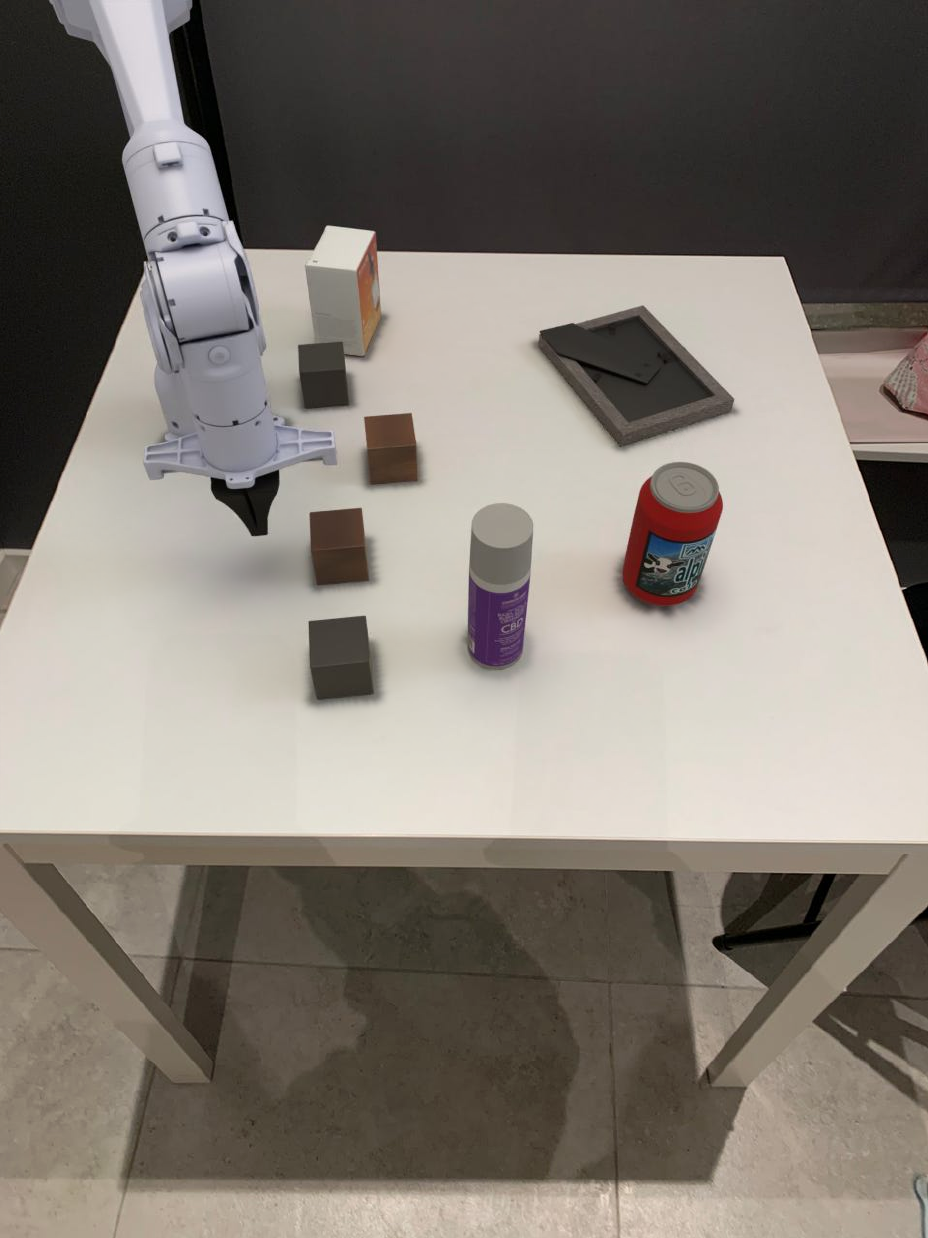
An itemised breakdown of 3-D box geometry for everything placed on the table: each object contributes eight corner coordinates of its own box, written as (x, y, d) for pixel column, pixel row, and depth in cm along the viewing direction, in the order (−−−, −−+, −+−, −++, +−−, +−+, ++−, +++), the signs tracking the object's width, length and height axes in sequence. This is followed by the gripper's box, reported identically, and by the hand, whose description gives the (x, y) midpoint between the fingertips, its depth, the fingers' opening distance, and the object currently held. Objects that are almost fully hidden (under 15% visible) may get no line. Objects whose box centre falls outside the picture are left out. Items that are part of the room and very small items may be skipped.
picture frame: (538, 345, 104) (620, 446, 94) (539, 330, 102) (623, 431, 92) (640, 316, 107) (731, 411, 97) (643, 301, 105) (735, 395, 96)
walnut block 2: (370, 484, 90) (367, 448, 86) (367, 452, 93) (363, 416, 89) (417, 480, 90) (416, 444, 87) (413, 448, 93) (411, 412, 90)
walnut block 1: (317, 585, 82) (310, 550, 79) (315, 546, 85) (309, 511, 82) (369, 580, 83) (365, 546, 79) (365, 542, 86) (361, 507, 82)
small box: (364, 358, 102) (356, 271, 94) (315, 351, 103) (303, 264, 94) (382, 315, 107) (377, 229, 98) (335, 309, 107) (326, 223, 99)
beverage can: (648, 622, 80) (674, 527, 71) (605, 569, 84) (625, 471, 74) (712, 594, 82) (746, 498, 73) (667, 543, 86) (694, 445, 76)
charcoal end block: (304, 408, 97) (299, 372, 93) (303, 380, 100) (298, 344, 96) (349, 405, 97) (345, 368, 94) (346, 377, 100) (342, 340, 96)
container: (504, 679, 77) (514, 559, 65) (456, 654, 78) (457, 532, 66) (532, 640, 79) (547, 517, 67) (485, 616, 80) (491, 492, 68)
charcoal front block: (316, 700, 75) (309, 667, 71) (314, 653, 78) (308, 620, 74) (373, 694, 76) (369, 661, 72) (369, 648, 78) (365, 614, 75)
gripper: (123, 446, 65) (169, 570, 76) (330, 429, 66) (347, 554, 77) (131, 381, 69) (174, 508, 80) (326, 367, 71) (343, 494, 82)
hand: (259, 527), depth 79 cm, fingers closed
